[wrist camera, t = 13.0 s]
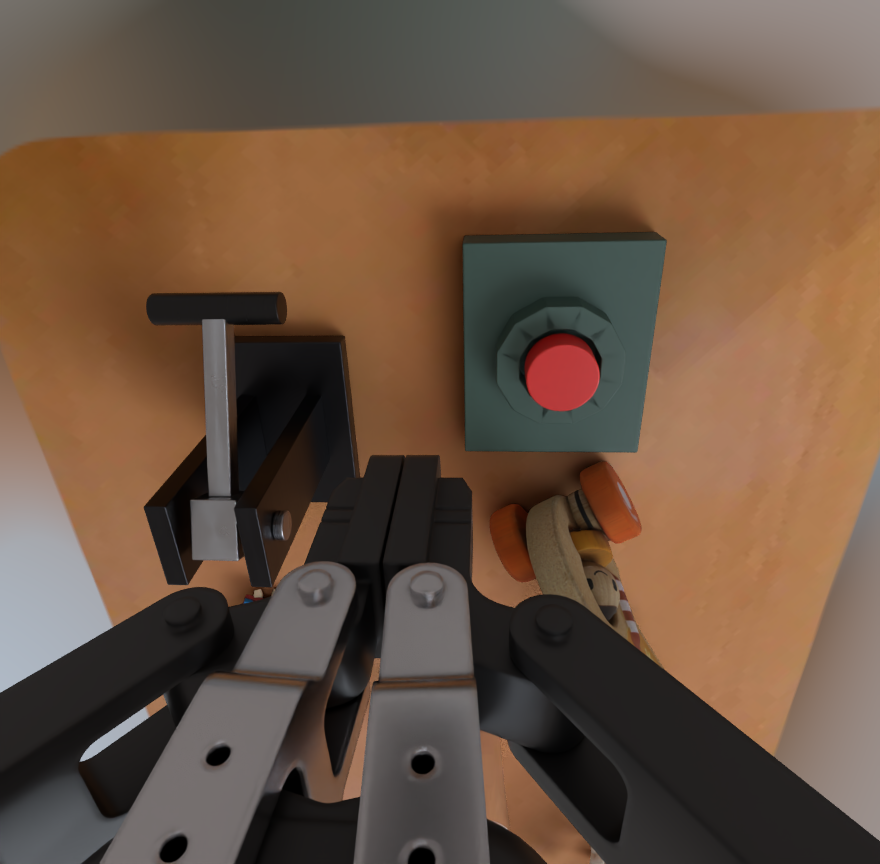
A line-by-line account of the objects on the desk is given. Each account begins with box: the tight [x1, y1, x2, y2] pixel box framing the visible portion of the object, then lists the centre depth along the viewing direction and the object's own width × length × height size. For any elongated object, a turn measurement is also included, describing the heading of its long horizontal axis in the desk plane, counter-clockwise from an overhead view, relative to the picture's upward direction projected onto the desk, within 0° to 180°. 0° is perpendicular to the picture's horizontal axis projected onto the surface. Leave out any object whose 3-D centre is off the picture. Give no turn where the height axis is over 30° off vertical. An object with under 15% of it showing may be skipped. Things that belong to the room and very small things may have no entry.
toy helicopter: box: [490, 461, 664, 669], centre depth 36 cm, size 8×21×14 cm, turn 33°
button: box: [524, 333, 600, 411], centre depth 31 cm, size 4×4×2 cm
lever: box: [146, 292, 287, 561], centre depth 28 cm, size 12×6×2 cm, turn 3°
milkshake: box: [480, 730, 511, 831], centre depth 47 cm, size 4×5×10 cm
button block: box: [463, 232, 667, 452], centre depth 33 cm, size 12×10×4 cm
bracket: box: [144, 336, 360, 587], centre depth 33 cm, size 11×8×13 cm
